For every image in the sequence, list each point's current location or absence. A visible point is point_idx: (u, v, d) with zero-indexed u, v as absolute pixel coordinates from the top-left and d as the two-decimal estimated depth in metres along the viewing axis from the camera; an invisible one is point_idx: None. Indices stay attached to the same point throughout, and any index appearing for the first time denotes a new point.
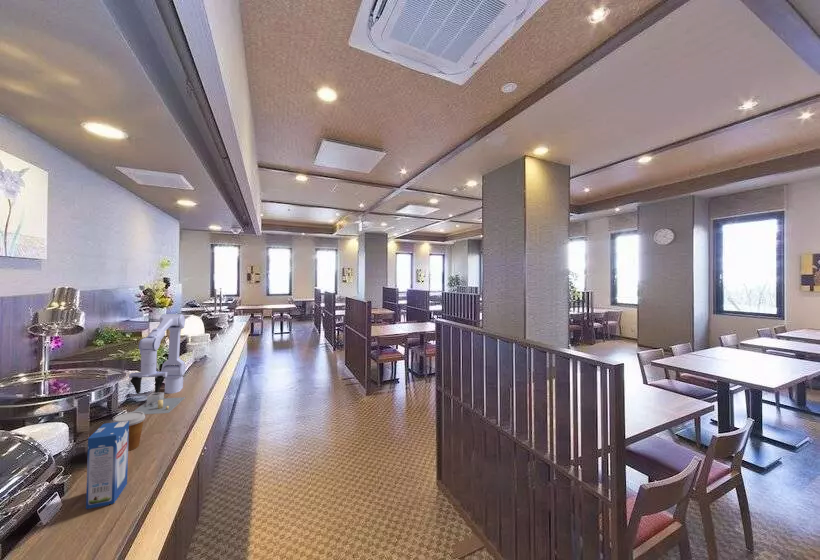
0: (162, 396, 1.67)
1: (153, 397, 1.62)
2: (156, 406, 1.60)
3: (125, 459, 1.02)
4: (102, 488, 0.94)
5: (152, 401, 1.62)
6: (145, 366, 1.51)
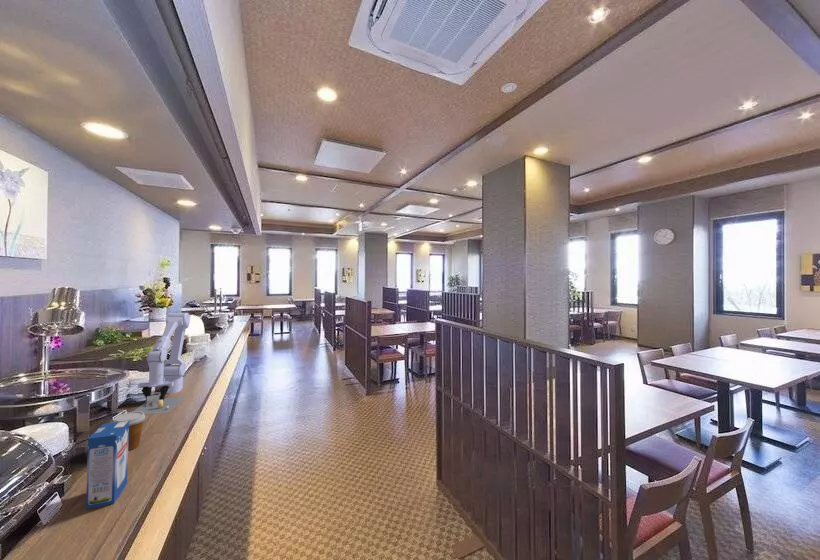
0: None
1: (153, 397, 1.62)
2: (156, 406, 1.60)
3: (125, 459, 1.02)
4: (102, 488, 0.94)
5: (152, 401, 1.62)
6: (153, 377, 1.62)
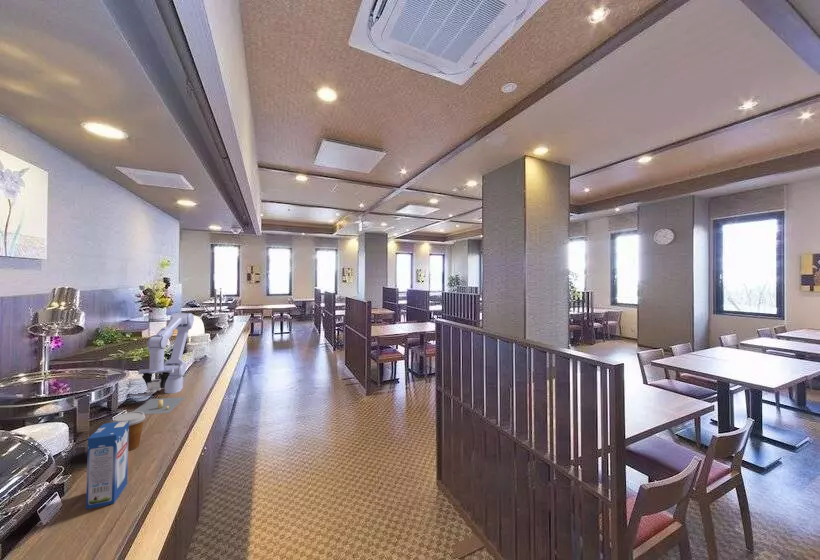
0: None
1: (153, 383, 1.62)
2: (156, 406, 1.60)
3: (125, 459, 1.02)
4: (102, 488, 0.94)
5: (152, 387, 1.62)
6: (153, 363, 1.62)
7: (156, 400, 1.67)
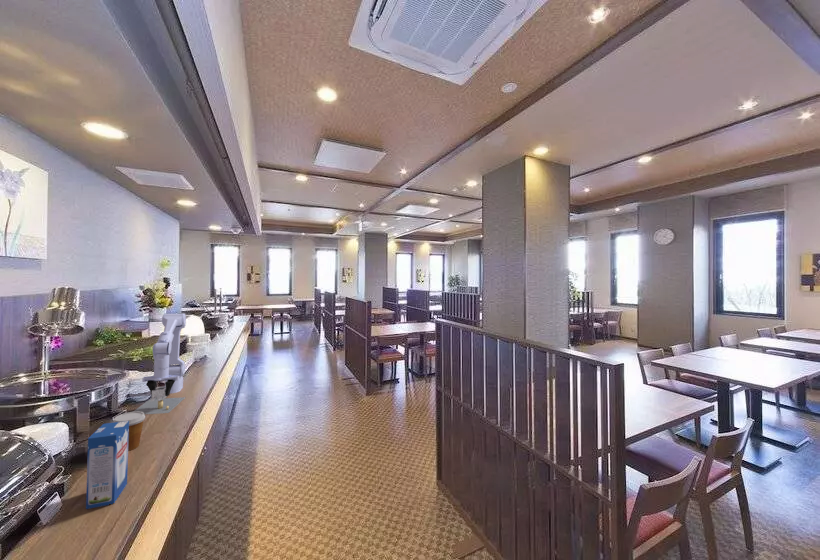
0: None
1: (158, 391, 1.55)
2: (156, 406, 1.60)
3: (125, 459, 1.02)
4: (102, 488, 0.94)
5: (157, 395, 1.55)
6: (158, 370, 1.55)
7: (156, 400, 1.67)
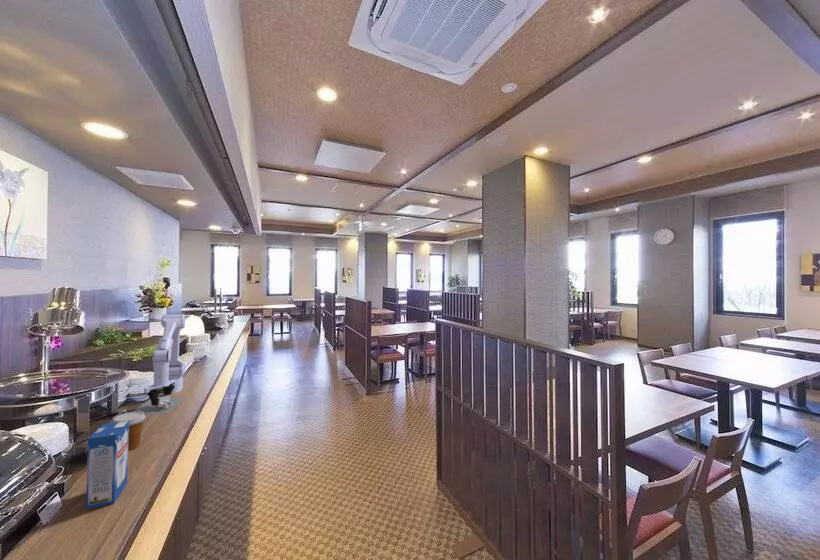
0: None
1: (165, 397, 1.57)
2: (156, 406, 1.60)
3: (125, 459, 1.02)
4: (102, 488, 0.94)
5: (164, 402, 1.57)
6: (165, 376, 1.57)
7: None
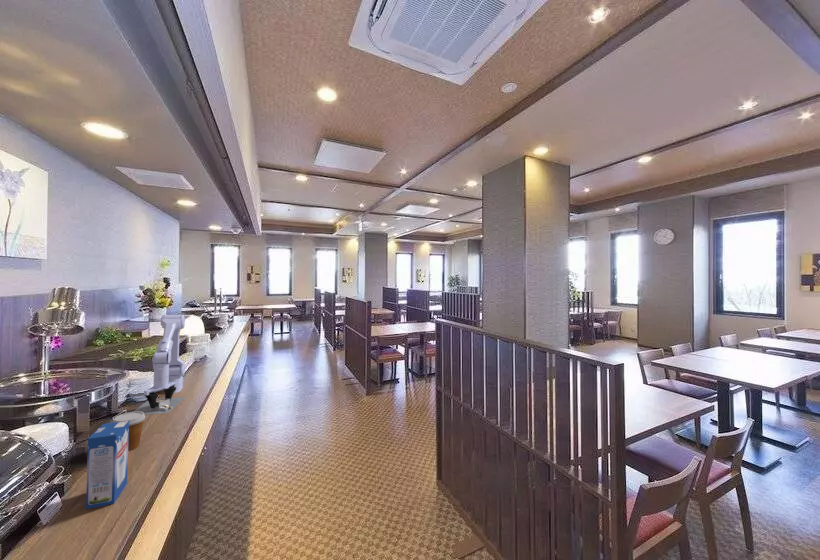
0: None
1: (164, 401, 1.57)
2: None
3: (125, 459, 1.02)
4: (102, 488, 0.94)
5: (163, 406, 1.57)
6: (165, 378, 1.57)
7: None
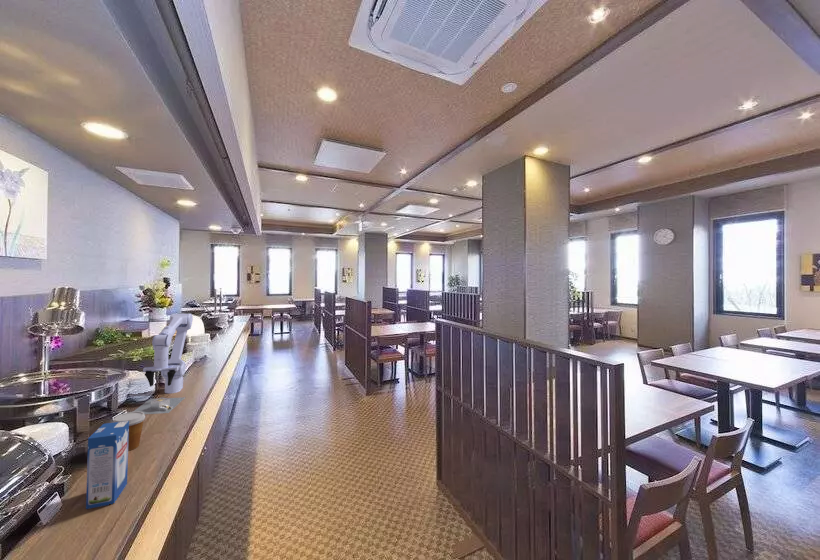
0: None
1: (164, 401, 1.57)
2: None
3: (125, 459, 1.02)
4: (102, 488, 0.94)
5: (163, 406, 1.57)
6: (158, 361, 1.63)
7: None
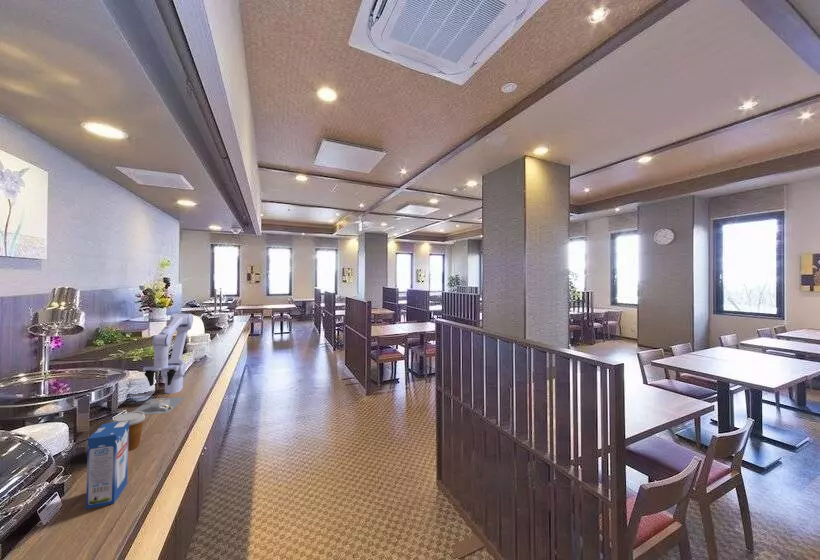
0: None
1: (164, 401, 1.57)
2: None
3: (125, 459, 1.02)
4: (102, 488, 0.94)
5: (163, 406, 1.57)
6: (158, 360, 1.63)
7: None
